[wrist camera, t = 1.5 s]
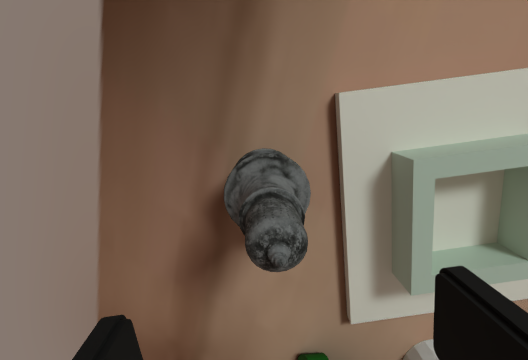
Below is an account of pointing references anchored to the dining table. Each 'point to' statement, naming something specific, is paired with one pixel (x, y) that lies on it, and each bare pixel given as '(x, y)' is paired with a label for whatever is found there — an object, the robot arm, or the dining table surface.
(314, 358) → the clamp
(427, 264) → the holder
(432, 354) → the white cylinder
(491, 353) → the robot arm
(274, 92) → the dining table surface
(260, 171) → the chess piece
